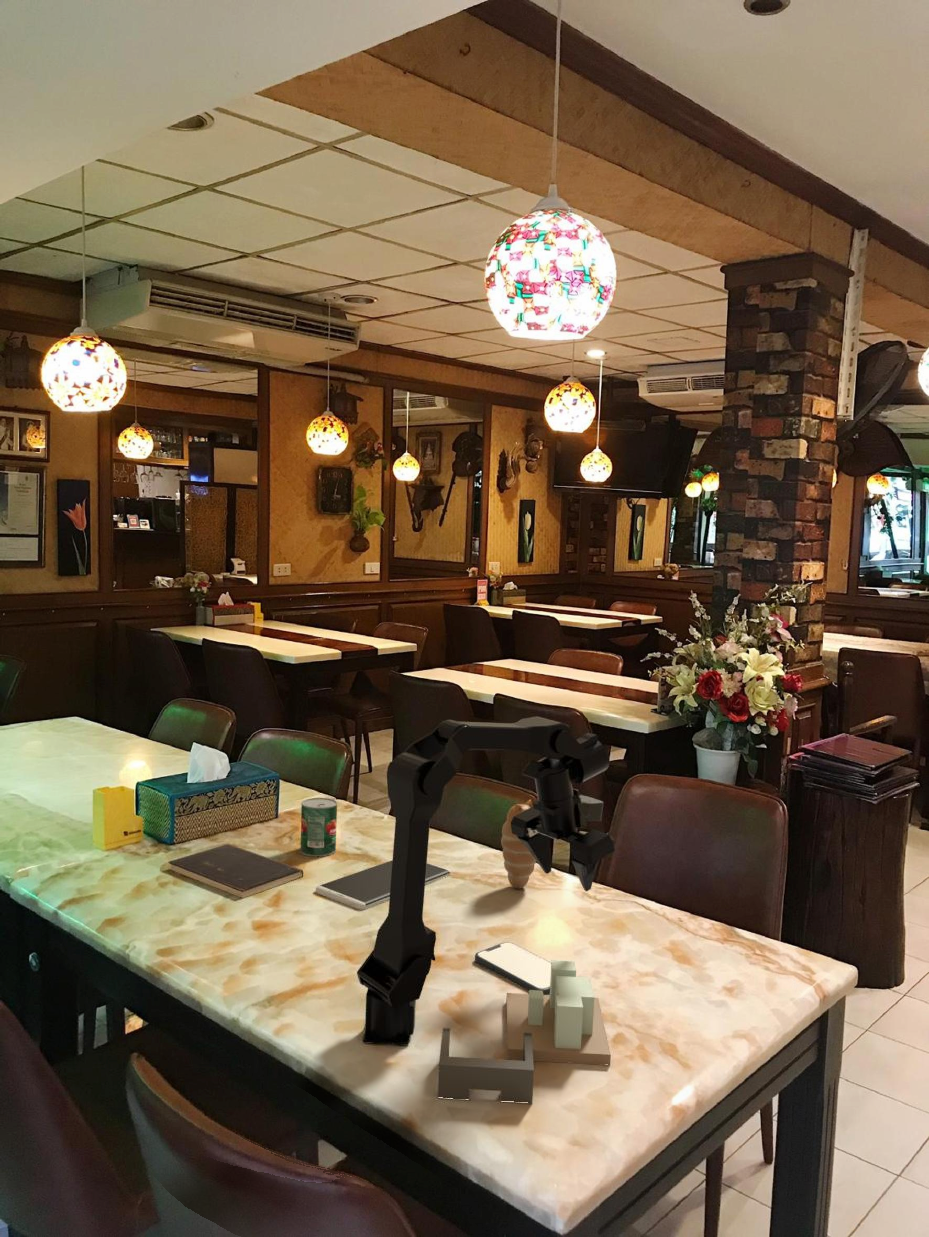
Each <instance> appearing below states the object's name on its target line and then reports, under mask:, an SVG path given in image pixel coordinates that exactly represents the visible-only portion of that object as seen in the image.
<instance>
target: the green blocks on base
mask: <svg viewBox="0 0 929 1237" xmlns="http://www.w3.org/2000/svg"><path fill="white" fill-rule="evenodd" d="M550 962H551V979H550V994H548V995H543V991H538V990H529V991H528V993H517V992H513V993H512V992H506V997H505V998H506V1001H505V1003H506V1005H505V1006H506V1007H505V1008H506V1010H505V1012H506V1045H507V1046H506V1047H507V1048H506V1051H507V1052H506V1054H507V1060H510V1059H511V1060H517V1061H523V1042H524V1033H531V1035H532V1049H533V1062H544V1063H545V1062H546V1063H547V1062H548V1063H562V1062H564V1063H566V1064H569V1063H568V1062H571V1063H570V1064H580V1063H588V1064H587V1065H597V1064H608V1065H607V1066H611V1055H612V1053H611V1049H610V1045H609V1041H608V1035H607V1031H606V1027H605V1023H604V1017H603V1013H602V1008H601V1004H600V1001H599V1000H600V999H599V998H598V997H595V993H594V989H593V984H592V979H591V977H582V976H581V977H580V976H577V967H576V962H575V961H573V960H551V961H550ZM564 1063H563V1064H564Z"/></svg>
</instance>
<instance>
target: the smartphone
mask: <svg viewBox="0 0 929 1237" xmlns="http://www.w3.org/2000/svg"><path fill="white" fill-rule="evenodd" d="M392 861H393V859H392V860H390V861H389V860H388V861H386V862H384V863H383V862H382V863H381V864H378V865H375V866H373V867H368V868H366V869H363V870H360V871H357V872H355V873H352V874H349V875H344V877H340V878H337V879H334V880H331V881H328V882H326V883H323V884H319V885H317V886H316V887H315V893H316V894H318V895H321V896H323V897H325V896H326V898H329V899H331V900H333V899H334V900H333V901H336V902H338V901H339V903H342V904H344V905H347V906H349V907H352V908H354V909H357V910H360V911H363V910H367V909H371V908H373V907H375V906H377V905H380V904H382V903H385V902H387V901H388V902H389V900H390V887H391V874H392ZM448 875H450V876H451V875H452V871H451V870H450V869H448V868H445V867H442V866H439V865H436V864H433V863H430V862H427V866H426V879H425V886H427V884H428V885H430V884H432V883H434V881H435V882H437V881H439V880H438V879H440V880H442V879H444V878H443V877H445V878H446V876H447V877H449V876H448ZM441 878H442V879H441ZM436 880H437V881H436Z"/></svg>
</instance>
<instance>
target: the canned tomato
mask: <svg viewBox="0 0 929 1237" xmlns="http://www.w3.org/2000/svg"><path fill="white" fill-rule="evenodd" d="M300 805H301V810H300V811H301V812H300V813H301V814H300V819H301V820H300V849H299V851H300V852H299V853H301V855H304V856H307V857H312V856H313V858H316V857H317V856H319V857H317V858H320V857H321V856H323V857H328V856H327V855H329V856H332V855H333V853H334V854H335V853H336V852H337V848H336V847H337V830H338V828H337V823H338V822H337V819H338V801H337V800H335V799H332V798H327V797H311V798H307V799H304V800H302V801H301V804H300ZM331 854H332V855H331ZM314 856H315V857H314Z"/></svg>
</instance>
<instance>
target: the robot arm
mask: <svg viewBox="0 0 929 1237" xmlns="http://www.w3.org/2000/svg"><path fill="white" fill-rule="evenodd" d="M598 738H599V737H598V734H595V733H590V732H587V733H584V734H582V736H581V737H579V738H577V739H576V738H575V737H574V736H573V735H572V732H571V729H570V726H569V725H568V724H567V723H563V722H560V721H557V720H552V719H548V718H544V717H541V716H531V717H525V718H521V719H520V720H518V721H516V722H512V723H506V722H481V721H480V722H479V721H477V722H475V721H457V720H453V719H446V720H442V721H441V722H440V723H439V724H438V725H436V727H435V728H434V729H433V730H431V731H430V732H429V733H427V734H425V735H424V736H421V737H420V738H418V739H416V740H415V741H413V742H412V743H410V744H409V745H408V746H407V747H406V749H404V751H403V752H402V753H400V754H398V755H396V756H395V757H394V758H393V759H392V760H391V761H390V762H389V764H388V766H387V770H386V783H387V784H386V785H387V796H388V799H389V803H390V804H391V808H392V810H393V813H394V816H395V823H394V825H395V826H394V835H393V836H394V838H393V849H392V860H393V861H392V860H391V861H392V874H391V887H390V900H388V903H389V904H388V913H387V917H386V918H385V920H384V921H383V922H382V924H381V925H380V927H379V928H378V930H377V933H376V938H375V942H374V943H375V944H374V946H373V949H372V951H371V952H370V954H369V955H368V956H367V957H366V959H365V960H364V962H363V963H362V964H361V966H360V967H359V969H358V970H356V975H357V978H358V981H359V984H360V985H361V986H364V987H365V988H367V990H366V995H365V1020H364V1021H365V1022H364V1023H365V1024H364V1031H363V1032H364V1033H363V1036H362V1043H365V1044H375V1045H377V1044H378V1045H393V1046H395V1045H396V1046H408V1045H409V1044H410V1039H411V1036H413V1034H414V1032H415V1026H416V1006H417V1004H416V1001H418V1000H419V999H420V997H421V995H422V992H423V989H424V986H425V982H426V979H427V976H428V975H429V973H430V970H431V968H432V967H431V966H432V961H433V962H434V961H436V956H435V946H436V941H437V935H436V934H437V933H436V931H434V930H433V929H432V928H429V927H428V926H426V925H425V923H424V917H423V914H424V901H425V889H426V888H425V887H426V885H425V879H426V866H427V863H428V852H429V841H430V840H429V838H430V826H431V825H430V824H431V820H432V818H433V817H434V816H435V815H436V813H437V811H438V810H439V808H440V806H441V804H442V801H443V798H444V792H445V788H446V786H447V784H448V783H449V782H451V781H452V779H453V778H454V777H455V776H456V775H457V773H458V771H459V768H460V766H461V763H462V760H463V757H464V755H465V754H467V752H469V751H523V752H528V753H531V754H535V755H538V756H540V757H541V756H542V757H543V758H541V759H540V760H535V759H530V760H529V762H528V764H527V765H526V766H525V768H524V769H523V770H522V775H523V776H525V777H528V778H530V779H531V778H532V779H534V782H535V788H536V795H537V800H535V801H533V802H532V806H531V808H529V809H527V810H525V811H523V812H521V813H519V814H517V815H516V816H514V817H513V819H512V821H511V830H512V834H515V835H517V838H518V840H520V841H521V842H522V843H523V844H524V845H525V847H526V848H527V849H528V850H529V852H530V853H531V854H532V856H533V857H534V858H535V860H536V863H537V864H538V866H540V868H541V869H542V871H543V872H544V873H545V874H550V873H551V872H552V855H551V846H550V839H553V840H556V841H558V840H561V841H564V842H566V843H568V844H571V846H570V850H571V851H570V852H571V855H572V857H573V858H572V859H571V863H572V864H573V867H574V869H575V872H576V874H577V877H578V879H579V882H580V884H581V887H582V888H583V890H584V891H585V892H588V891H590V890H591V889H592V886H593V882H594V878H595V873H596V870H597V866H598V864H599V862H600V860H602V859H603V858H605V857H606V856H609V855H610V854H612V853H614V852H615V851H616V845H615V838H614V837H613V836H612V835H610V834H608V833H605V832H603V831H600V830H598V829H595V828H592V829H591V830H589V831H587V832H586V833H582V832H579V831H578V829H579V828H580V829H583V828H585V827H586V826H587V822H592V821H593V822H594V821H596V822H602V818H603V817H602V816H603V809H604V801H602V800H600V799H596V798H594V797H590V796H586V795H583V794H580V792H579V790H578V789H575V788H573V785H572V784H573V783H574V784H581V783H584V782H586V781H587V780H590V779H592V778H594V777H595V776H597V775H599V774H601V773H604V772H605V771H606V770H608V768H609V766H610V763H611V762H610V760H611V759H610V754H608V752H607V750H606V748H605V746H604V745H603V744H602V743H601V742H600V741H599V739H598ZM441 752H443V753H442V755H441V756H440V757H439V759H437V761H434V760H431V758H433V757H435V756H436V755H438V754H440V753H441Z"/></svg>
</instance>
